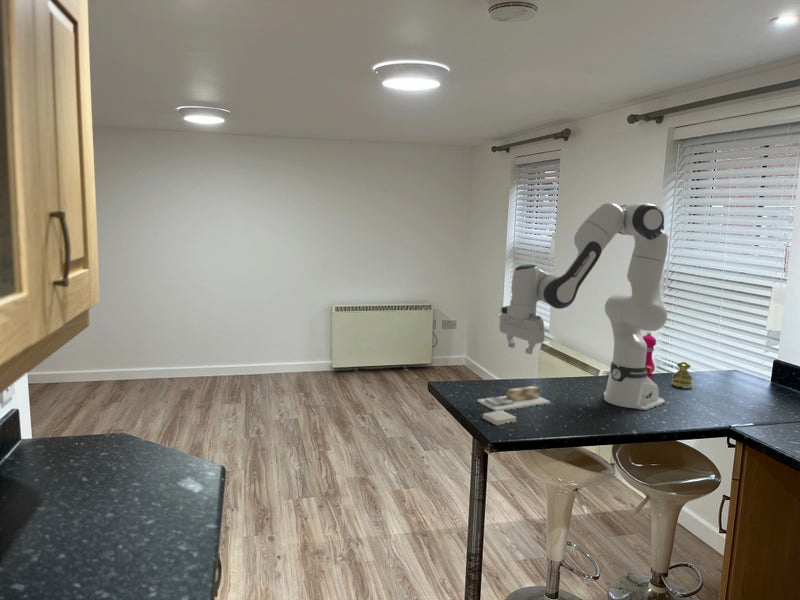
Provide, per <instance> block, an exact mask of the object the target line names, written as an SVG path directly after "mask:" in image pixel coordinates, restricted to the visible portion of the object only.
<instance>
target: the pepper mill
mask: <svg viewBox="0 0 800 600" xmlns="http://www.w3.org/2000/svg"><path fill="white" fill-rule="evenodd" d="M642 337H643V339H644V341H645V342H646V344H647V354H646V362H645V366H646V367H647V366H649V367H653V371H652V372H648V371H647V374H648V377H649V378H650V379H651V380H653V373H654V372H655V370H656V369H655V363H654V360H653V352H654V351H655V346H656V345H657V340H656V338H655V337H654V335H652V331H646V335H642Z"/></svg>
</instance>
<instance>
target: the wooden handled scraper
mask: <svg viewBox="0 0 800 600" xmlns="http://www.w3.org/2000/svg"><path fill="white" fill-rule="evenodd" d="M540 391H541V387H539V386H537V385H531V386H524V387H516V388H508V389H506V396H507V397H504V396H505V395H503V396H501V395H500V396H492V397H493V398H492V397H487V398H486V399H485V398H484V399H485V402H487V403H489V404H491V405H493V406H495V407H497V406H504V405H511V404H514V402H517V401H524V400H531V399H537V398H539V397H540Z"/></svg>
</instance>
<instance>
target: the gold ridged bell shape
mask: <svg viewBox="0 0 800 600" xmlns="http://www.w3.org/2000/svg"><path fill="white" fill-rule="evenodd" d="M676 366H677V367H678V369H679V370H678V371H676V372H675V373H673V374H672V375H671V376H672V379H671V385H672V384H673V385H675V386H678V387H687V388H688V387H691V388H692V383H693V382H692V381H693V376H692V375H690V373H689V372H688V370H689V369H690V368H691V367H692V366H691V364H689V363H687V362H684V361H681V362H679V363H677V364H676ZM673 385H672V386H673Z"/></svg>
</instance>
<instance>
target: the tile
mask: <svg viewBox="0 0 800 600" xmlns="http://www.w3.org/2000/svg"><path fill="white" fill-rule="evenodd" d="M482 419H484V420H485V421H487V422H490V423H492V424H494V425H495V426H501V424H502V425H506V424H505V423H507V424H510V422H512V423H517V416H515V415H513V414H511V413H509V412H506V410H505V411H503V410H501V411H490V412H484V413H482Z"/></svg>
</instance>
